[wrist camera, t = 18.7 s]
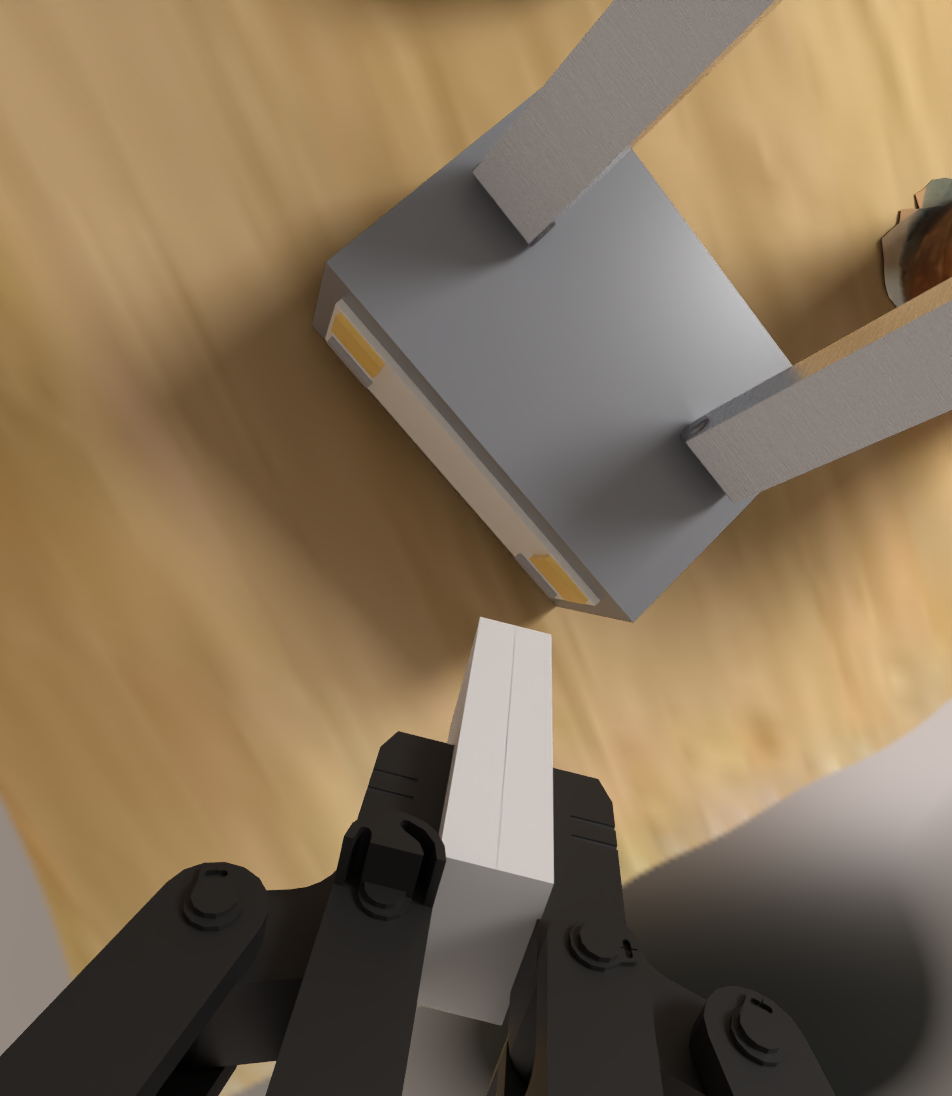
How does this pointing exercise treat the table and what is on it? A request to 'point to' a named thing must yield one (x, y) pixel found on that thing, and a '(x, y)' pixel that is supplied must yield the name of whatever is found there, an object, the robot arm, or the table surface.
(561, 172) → the lever
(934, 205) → the vessel
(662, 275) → the console
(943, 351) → the lever
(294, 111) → the table surface
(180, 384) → the table surface
